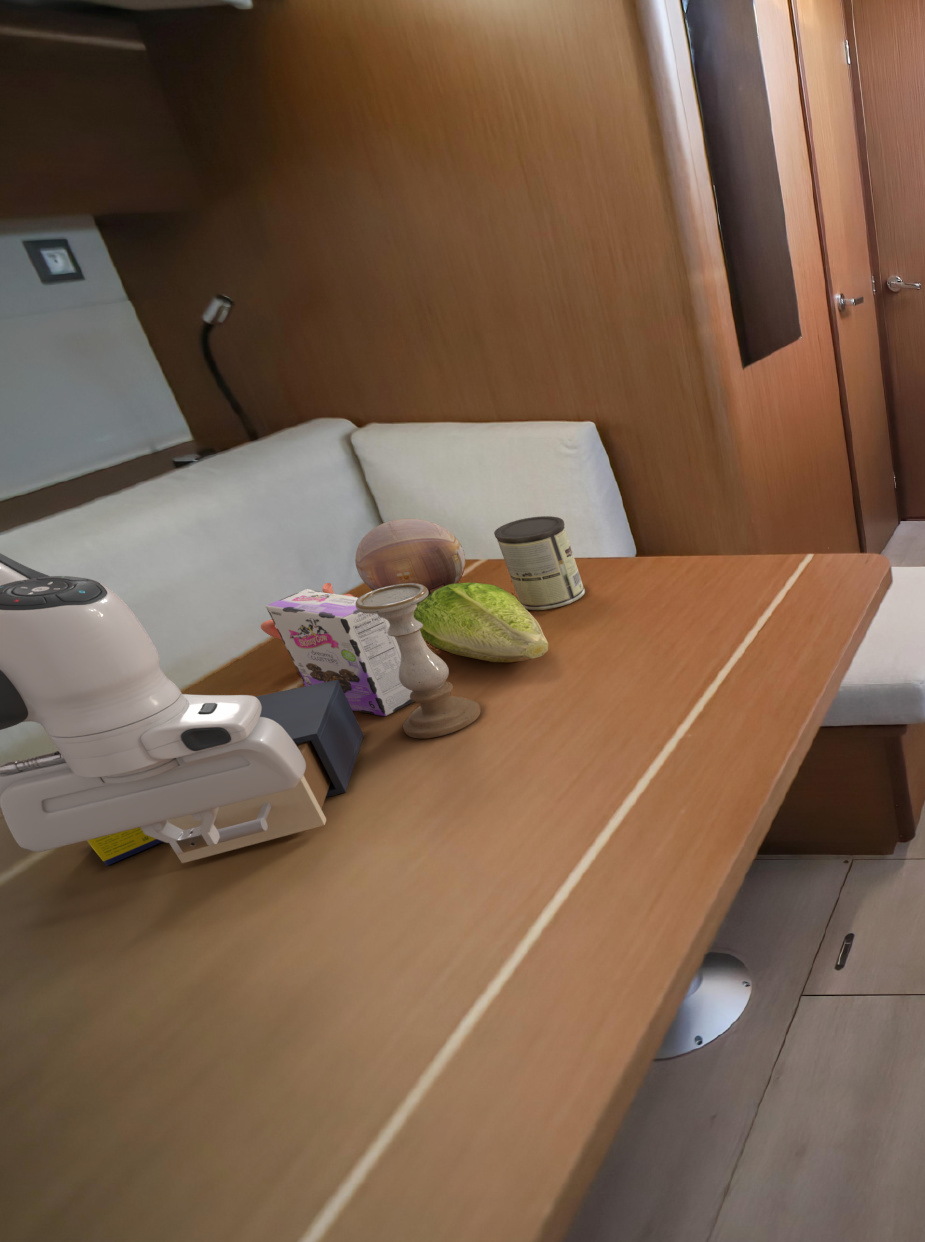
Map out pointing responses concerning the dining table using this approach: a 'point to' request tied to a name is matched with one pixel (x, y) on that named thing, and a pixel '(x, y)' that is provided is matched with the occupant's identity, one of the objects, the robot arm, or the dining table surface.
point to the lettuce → (480, 623)
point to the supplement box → (121, 845)
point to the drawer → (267, 812)
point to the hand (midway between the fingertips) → (199, 845)
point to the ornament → (410, 555)
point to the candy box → (342, 649)
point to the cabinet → (319, 726)
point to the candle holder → (419, 664)
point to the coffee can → (540, 562)
